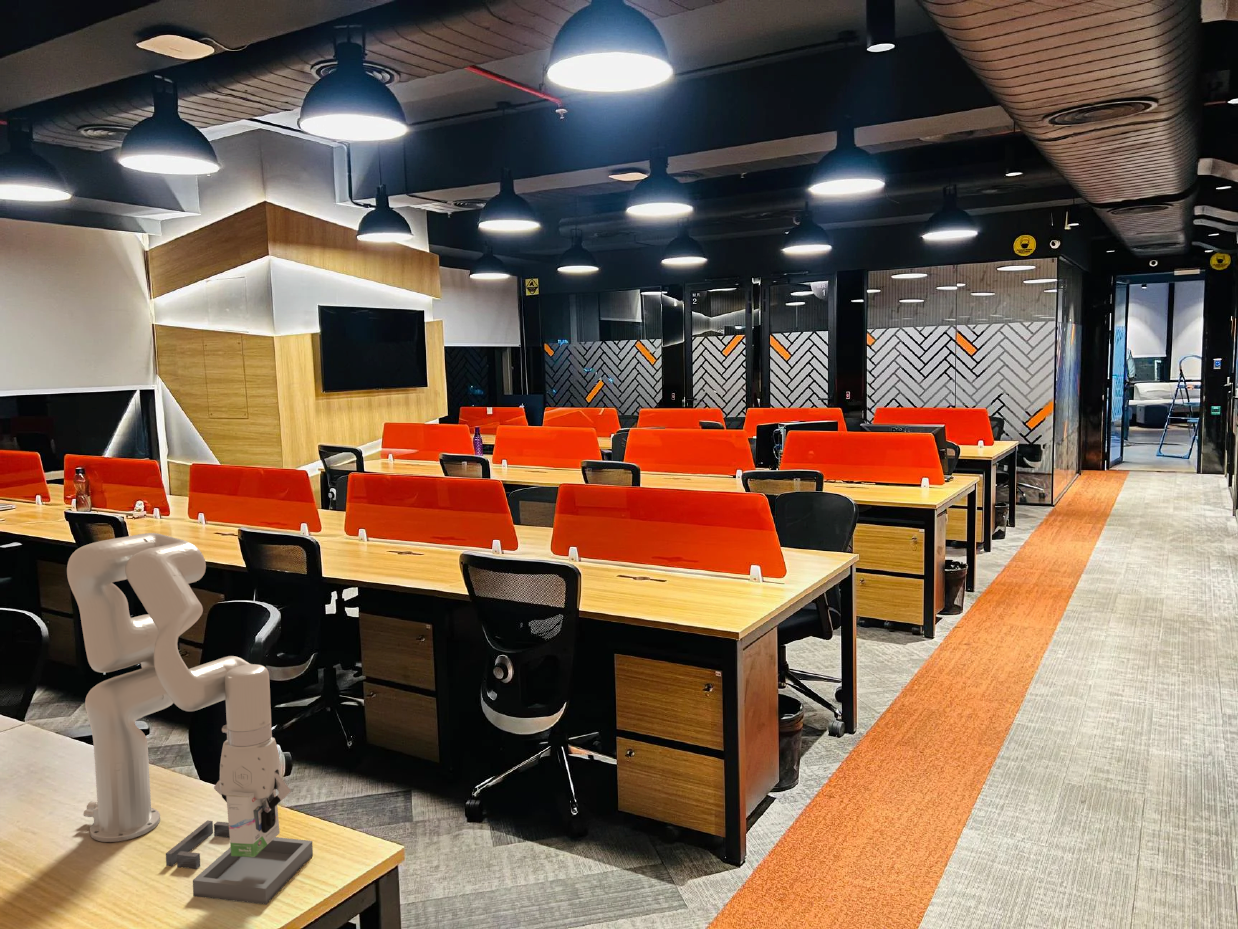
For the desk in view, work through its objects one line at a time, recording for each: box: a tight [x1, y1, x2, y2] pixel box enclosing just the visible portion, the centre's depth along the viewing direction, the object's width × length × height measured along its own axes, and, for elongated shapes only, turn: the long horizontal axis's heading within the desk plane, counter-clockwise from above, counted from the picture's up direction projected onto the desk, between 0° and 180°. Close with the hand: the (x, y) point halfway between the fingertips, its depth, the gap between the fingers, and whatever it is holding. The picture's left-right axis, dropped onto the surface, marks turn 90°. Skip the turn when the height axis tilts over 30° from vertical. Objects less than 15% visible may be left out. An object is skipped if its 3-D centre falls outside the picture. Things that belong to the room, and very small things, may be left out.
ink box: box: [226, 789, 280, 857], centre depth 166 cm, size 9×5×12 cm, turn 169°
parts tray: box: [192, 836, 314, 906], centre depth 167 cm, size 14×16×3 cm
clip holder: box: [165, 820, 230, 870], centre depth 175 cm, size 6×13×2 cm, turn 170°
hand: (253, 826), depth 166 cm, fingers closed on ink box, 5 cm apart
